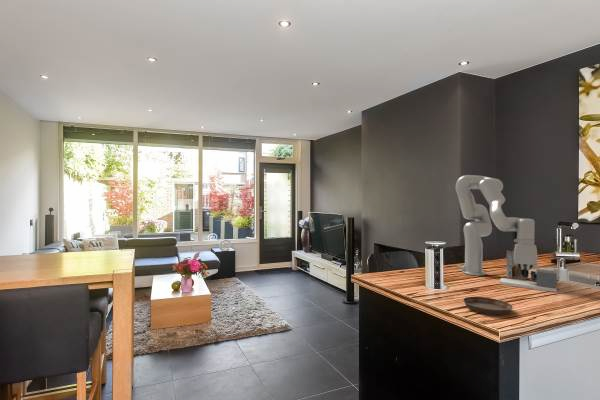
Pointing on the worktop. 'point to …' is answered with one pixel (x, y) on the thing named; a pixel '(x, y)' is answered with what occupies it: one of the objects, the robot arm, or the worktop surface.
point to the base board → (524, 284)
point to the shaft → (534, 276)
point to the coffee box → (513, 267)
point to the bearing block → (546, 278)
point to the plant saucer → (487, 305)
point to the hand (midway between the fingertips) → (525, 276)
